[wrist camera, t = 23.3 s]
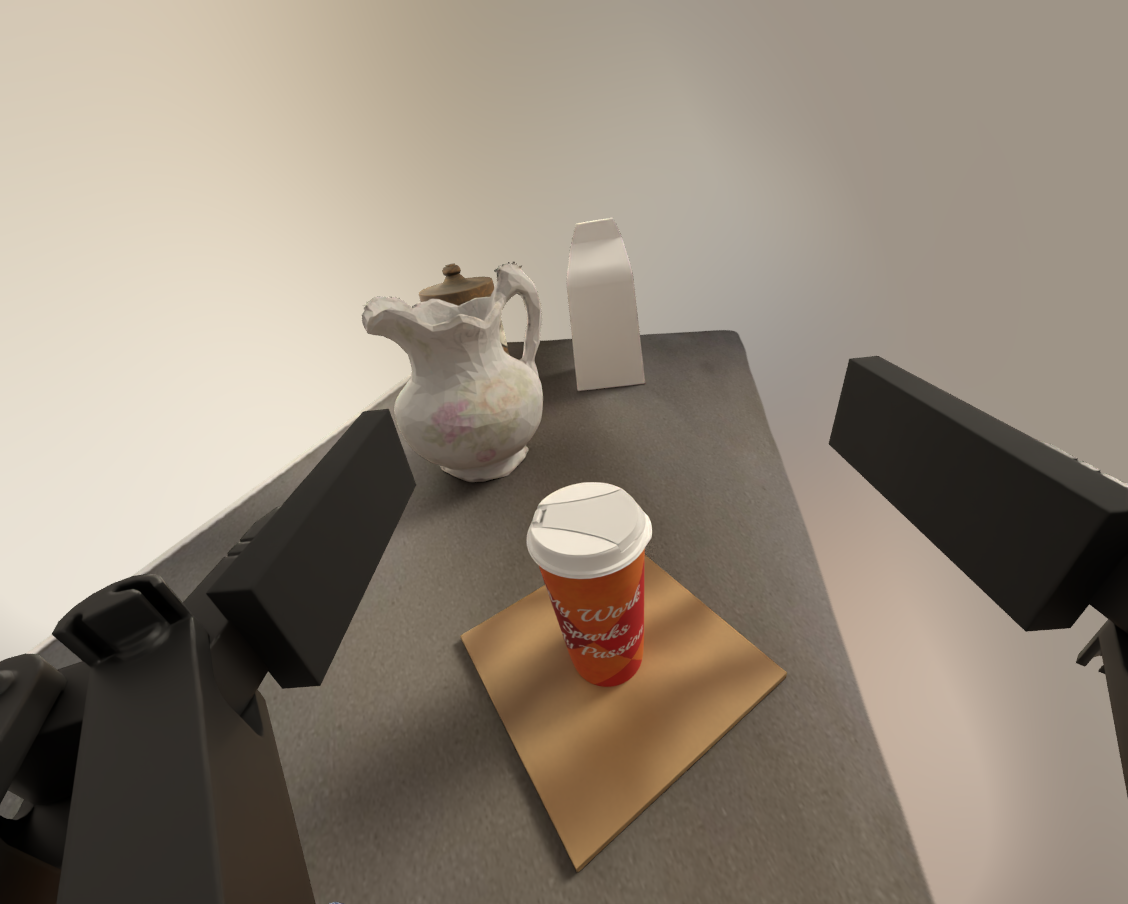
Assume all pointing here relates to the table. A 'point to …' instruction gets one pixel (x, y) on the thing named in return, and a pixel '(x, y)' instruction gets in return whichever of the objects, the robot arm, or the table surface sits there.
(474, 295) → the wooden container
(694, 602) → the wooden board
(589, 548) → the paper cup
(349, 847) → the table surface
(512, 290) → the ceramic pitcher
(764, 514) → the table surface
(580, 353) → the milk
